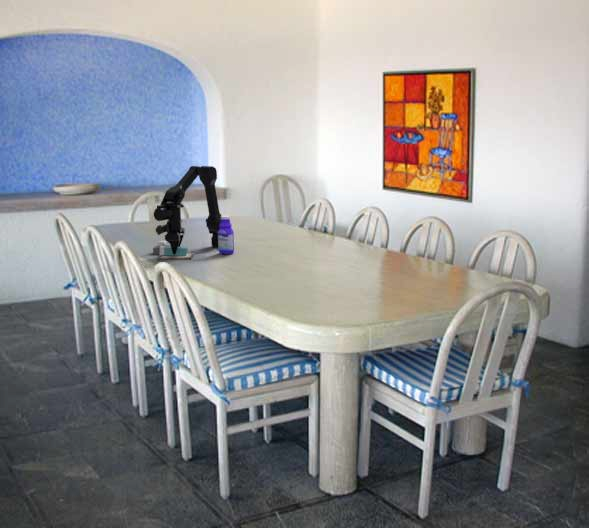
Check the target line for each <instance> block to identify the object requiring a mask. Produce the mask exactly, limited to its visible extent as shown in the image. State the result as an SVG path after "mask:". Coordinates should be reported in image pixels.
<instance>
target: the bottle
mask: <svg viewBox="0 0 589 528" xmlns="http://www.w3.org/2000/svg"><path fill="white" fill-rule="evenodd" d="M232 225H233V224H232V223H231V218H230V216H229V215H222V216H221V223H220V225H219V227H220V229H219V231H218V247H217V248H218V253H219V254H221V255H232V254H234V251H235V241H234V240H235V235H234V234H235V233H234V229H233V228H232Z"/></svg>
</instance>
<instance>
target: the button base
mask: <svg viewBox="0 0 589 528" xmlns="http://www.w3.org/2000/svg"><path fill="white" fill-rule="evenodd" d="M166 246H171V245H170V244H166ZM152 254H153V255H159V254H160V247H158V246H157V244H155V245H154V246H153V247H152Z"/></svg>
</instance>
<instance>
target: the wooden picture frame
mask: <svg viewBox="0 0 589 528" xmlns="http://www.w3.org/2000/svg"><path fill="white" fill-rule="evenodd" d="M157 255H158V257H157V258H156V260H192V259H193V257H194V256H195V253H194V252H193V253H191V252H189V253H188V252H187V256H176V255H160V254H157Z"/></svg>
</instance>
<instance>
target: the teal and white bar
mask: <svg viewBox="0 0 589 528" xmlns="http://www.w3.org/2000/svg"><path fill="white" fill-rule="evenodd" d="M188 248H189V247H188V246H180V247H178V248H177V252H176V254H173V252H172V249H171V246H160V255H176V256H187V253H188Z"/></svg>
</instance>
